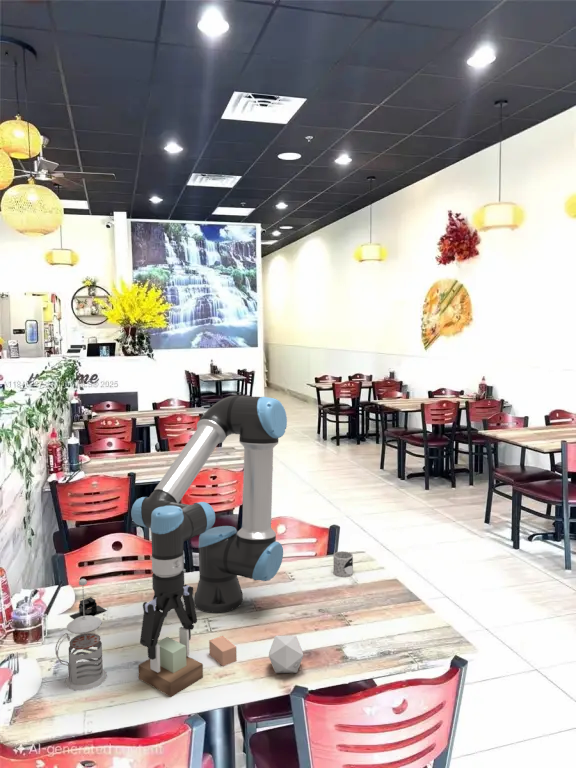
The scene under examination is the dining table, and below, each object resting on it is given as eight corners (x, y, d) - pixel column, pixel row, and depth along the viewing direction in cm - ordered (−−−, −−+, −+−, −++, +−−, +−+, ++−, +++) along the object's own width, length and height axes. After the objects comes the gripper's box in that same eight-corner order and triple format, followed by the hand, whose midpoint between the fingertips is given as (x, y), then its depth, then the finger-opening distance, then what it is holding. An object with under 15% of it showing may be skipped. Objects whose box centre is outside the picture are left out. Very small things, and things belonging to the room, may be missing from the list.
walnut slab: (138, 680, 145) (138, 664, 145) (170, 662, 153) (170, 647, 153) (171, 699, 138) (170, 682, 137) (203, 679, 145) (202, 663, 145)
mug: (347, 578, 203) (347, 559, 202) (330, 574, 206) (330, 556, 206) (359, 568, 212) (359, 550, 211) (342, 565, 215) (342, 547, 214)
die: (291, 686, 142) (312, 647, 145) (259, 665, 144) (281, 627, 146) (290, 679, 151) (310, 643, 153) (260, 659, 152) (281, 623, 154)
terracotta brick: (209, 655, 156) (209, 640, 155) (222, 650, 158) (222, 635, 158) (222, 666, 150) (222, 651, 150) (236, 661, 153) (236, 646, 152)
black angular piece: (74, 626, 172) (73, 611, 172) (62, 618, 177) (61, 603, 177) (112, 611, 181) (112, 597, 181) (100, 604, 186) (100, 590, 186)
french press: (112, 681, 144) (109, 581, 142) (62, 698, 138) (58, 593, 135) (101, 663, 152) (97, 567, 150) (53, 677, 146) (49, 578, 144)
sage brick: (154, 662, 146) (154, 643, 145) (167, 655, 149) (167, 636, 148) (173, 673, 141) (172, 653, 141) (186, 665, 144) (185, 645, 144)
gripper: (141, 590, 133) (144, 687, 135) (211, 562, 149) (212, 648, 151) (121, 582, 137) (124, 675, 139) (190, 555, 154) (192, 639, 156)
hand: (170, 661), depth 145 cm, fingers open, 8 cm apart
